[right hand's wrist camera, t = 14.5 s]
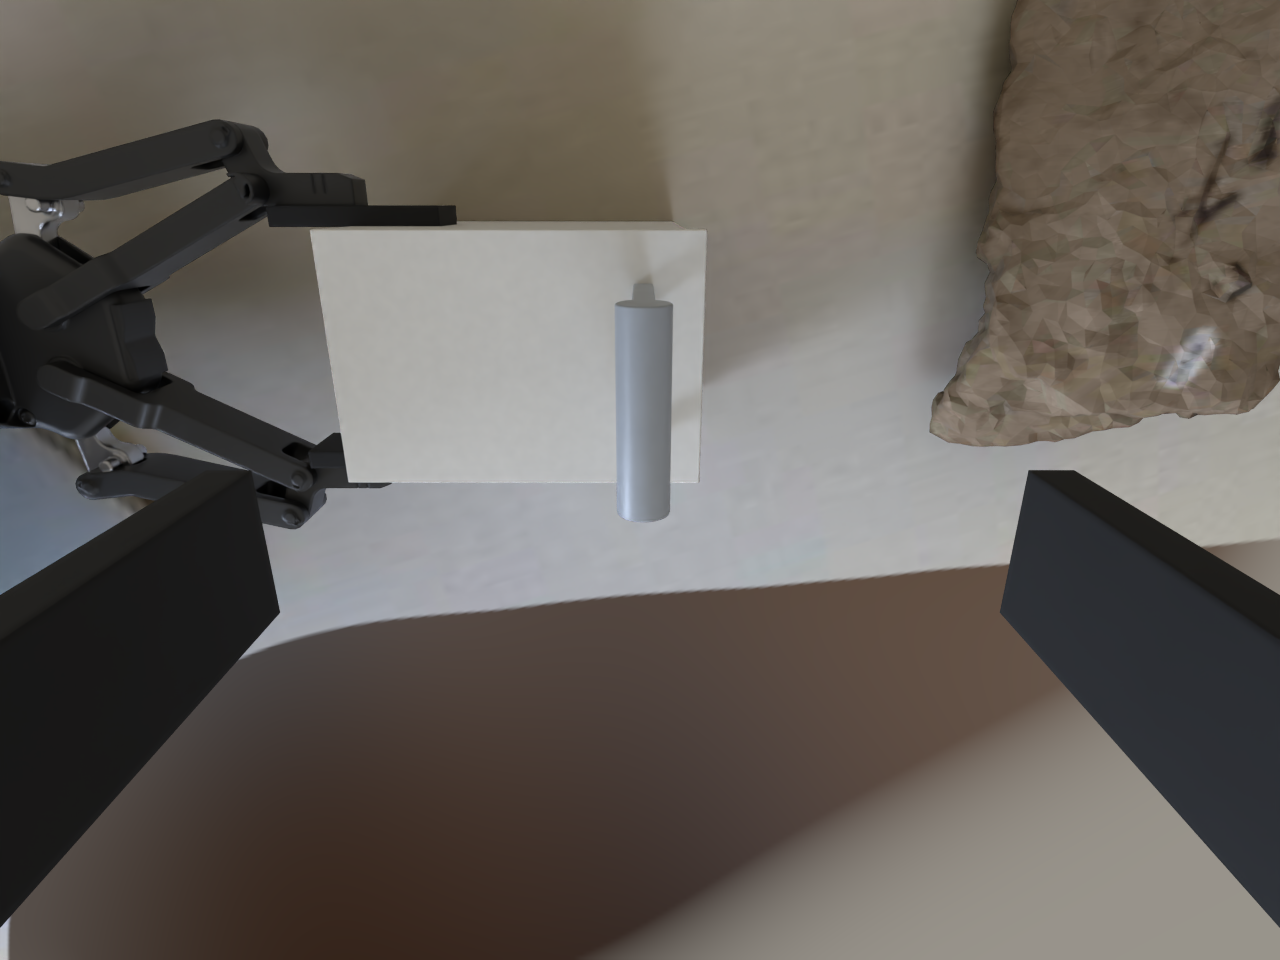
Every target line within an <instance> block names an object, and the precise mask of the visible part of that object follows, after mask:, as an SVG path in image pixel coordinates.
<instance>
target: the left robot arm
mask: <svg viewBox="0 0 1280 960" xmlns="http://www.w3.org/2000/svg"><path fill="white" fill-rule="evenodd" d="M267 150H268V141H267V138H266V136H265V134H264V133H263V132H262V131H261V130H260V129H259V128H256V127H254V126H250V125H245V124H240V123H235V122H230V121H225V120H220V119H219V120H210V121H207V122H203V123H199V124H196V125H192V126H189V127H185V128H181V129H178V130H174V131H171V132H167V133H163V134H160V135H156V136H153V137H149V138H145V139H142V140H138V141H134V142H131V143H127V144H124V145H120V146H116V147H113V148H109V149H106V150H102V151H98V152H95V153H91V154H88V155H84V156H80V157H77V158H73V159H69V160H66V161H62V162H59V163H55V164H51V165H49V164H36V163H21V162H6V161H0V194H1V195H5V196H8V197H9V203H10V208H11V214H12V219H13V225H14V231H15V234H13V235H10V236H8V237H7V238H5V239H4V240H3V241H1V242H0V428H43V429H47V430H51V431H53V432H56V433H58V434H60V435H62V436H64V437H67V438H71V439H75V442H76V444H77V447H78V449H79V451H80V454H81V456H82V459H83V461H84V463H85V466H86V468H87V471H88V472H87V473H85V474H83V475H81V476H79V477H78V478H77V480H76V488H77V490H78V491H79V493H80V494H81V495H82V496H84V497H85V498H88V499H92V500H97V499H106V498H116V497H125V496H135V497H140V498H145V499H150V500H154V501H156V500H158V499H160V498H161V497H163V496H165V495H166V494H168V493H169V492H171V491H173V490H174V489H176V488H178V487H179V486H181V485H183V484H184V483H186V482H188V481H189V480H191V479H193V478H194V477H196V476H198V475H199V474H201V473H202V472H204V471H206V470H243V469H238V468H234V467H229V466H224V465H220V464H215V463H211V462H206V461H201V460H197V459H192V458H187V457H183V456H178V455H172V454H166V453H147V449H146V448H145V447H144V446H143V445H141V444H136V445H135V444H132V443H127V442H122V441H120V440H118V439H117V438H115V437H114V436H113V435H112V433H111V431H110V428H112V427H113V426H114V425H115V424H117V423H118V422H119V421H122V422H125V423H127V424H129V425H131V426H134V427H137V428H142V429H156V430H158V431H161V432H163V433H165V434H168V435H170V436H172V437H174V438H177V439H179V440H181V441H183V442H186V443H188V444H190V445H193V446H195V447H197V448H199V449H202V450H204V451H206V452H209V453H211V454H213V455H215V456H218V457H220V458H222V459H224V460H227V461H229V462H231V463H234V464H236V465H238V466H240V467H243V468H245V469H247V470H251V471H252V476H253V481H254V486H255V491H256V496H257V501H258V506H259V511H260V516H261V521H262V523H264V524H269V525H273V526H278V527H283V528H288V529H297V528H300V527H301V526H302V525H303V524H304V523H305V522H306V521H308V520H309V519H310V518H311V517H312V516H313V515H314V514H315V513H316V512H317V511H318V510H319V509H320V508H321V507H322V506H323V505H324V504H325V503H326V500H327V498H326V494H325V490H326V488H382V487H385V486H387V485H390V484H392V483H390V482H348V475H347V469H346V462H345V456H344V450H343V443H342V437H341V433H333V434H331V435H330V436H329V437H327V438H326V439H325V440H323V441H322V442H320V443H319V444H318V445H315V444H312V443H310V442H308V441H306V440H304V439H301V438H299V437H297V436H295V435H292V434H290V433H288V432H286V431H284V430H281V429H279V428H277V427H275V426H273V425H270V424H268V423H266V422H264V421H261V420H259V419H257V418H255V417H253V416H250V415H248V414H246V413H244V412H242V411H239V410H237V409H235V408H233V407H230V406H228V405H226V404H224V403H222V402H219V401H217V400H215V399H213V398H211V397H208V396H206V395H204V394H202V393H199V392H197V391H196V390H195V389H194V386H193V385H192V384H191V383H189V382H187V381H185V380H183V379H181V378H179V377H176V376H174V375H172V374H170V373H168V372H165V371H168V368H167V364H166V359H165V355H164V352H163V350H162V348H161V346H160V344H159V342H158V340H157V338H156V336H155V313H154V308H153V304H152V300H151V299H145V298H144V296H143V294H144V293H146V292H147V291H149V290H151V289H152V288H154V287H156V286H157V285H159V284H161V283H162V282H164V281H166V280H167V279H168V278H169V275H171V274H172V273H174V272H175V271H177V270H179V269H180V268H182V267H184V266H185V265H187V264H189V263H190V262H192V261H194V260H195V259H197V258H199V257H200V256H202V255H204V254H205V253H207V252H209V251H210V250H212V249H214V248H215V247H217V246H219V245H220V244H222V243H224V242H225V241H227V240H229V239H230V238H232V237H234V236H235V235H237V234H239V233H240V232H242V231H244V230H245V229H247V228H249V227H250V226H252V225H254V224H255V223H257V222H259V221H260V220H262V219H264V218H265V217H267V216H268V222H269V227H349V226H447V225H456V224H457V219H456V207H455V206H368V201H367V193H366V185H365V180H364V179H361V178H359V177H356V176H354V175H352V174H342V173H285V172H283V171H281V170H280V169H279V168H278V167H277V166H276V165H275V164H274V162H273V161H272V159H271V157H270V155H269V153H268V151H267ZM223 168H226V169H227V171H228V173H227V176H228V177H231V178H230V179H229V180H227V181H226V182H224V183H222V184H221V185H219V186H218V187H216V188H214V189H213V190H211V191H209V192H208V193H206V194H205V195H203V196H201V197H200V198H198V199H196V200H195V201H193V202H192V203H190V204H188V205H187V206H185V207H183V208H182V209H180V210H179V211H177V212H175V213H174V214H172V215H171V216H169V217H167V218H166V219H164V220H162V221H161V222H159V223H158V224H156V225H154V226H153V227H151V228H149V229H148V230H146V231H145V232H143V233H141V234H140V235H138V236H137V237H135V238H133V239H132V240H130V241H128V242H127V243H125V244H124V245H122V246H120V247H119V248H117V249H115V250H114V251H112V252H110V253H107V254H104V255H101V256H98V257H96V258H93V257H92V256H90V255H89V254H87V253H86V252H84V251H82V250H81V249H79V248H78V247H76V246H74V245H73V244H71V243H70V242H68V241H67V240H65V239H63V238H62V237H60V236H58V235H57V230H58V227H59V225H60V224H61V223H62V222H64V221H67V220H73V219H75V218H76V217H77V216H78V215H79V212H81V211H83V210H84V208H85V204H84V202H83V200H105V199H110V198H115V197H119V196H123V195H126V194H130V193H134V192H138V191H141V190H145V189H149V188H152V187H156V186H160V185H163V184H167V183H171V182H174V181H178V180H182V179H186V178H189V177H193V176H197V175H200V174H204V173H208V172H211V171H215V170H219V169H223Z"/></svg>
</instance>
